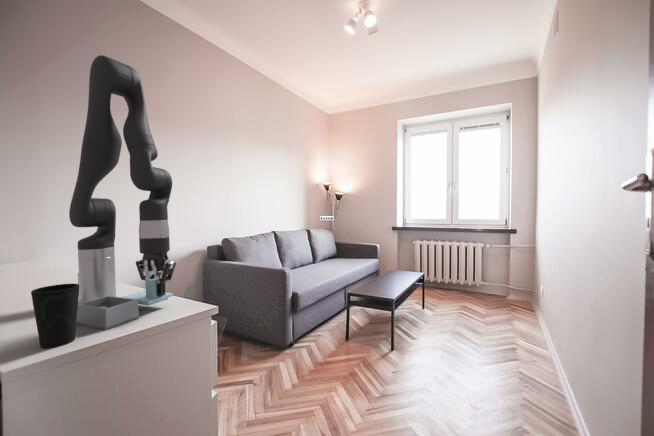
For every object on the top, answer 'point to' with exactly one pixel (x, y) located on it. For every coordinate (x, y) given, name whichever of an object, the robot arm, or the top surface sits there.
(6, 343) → the top surface
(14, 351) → the top surface
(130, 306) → the tub
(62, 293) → the cup
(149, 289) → the lid
